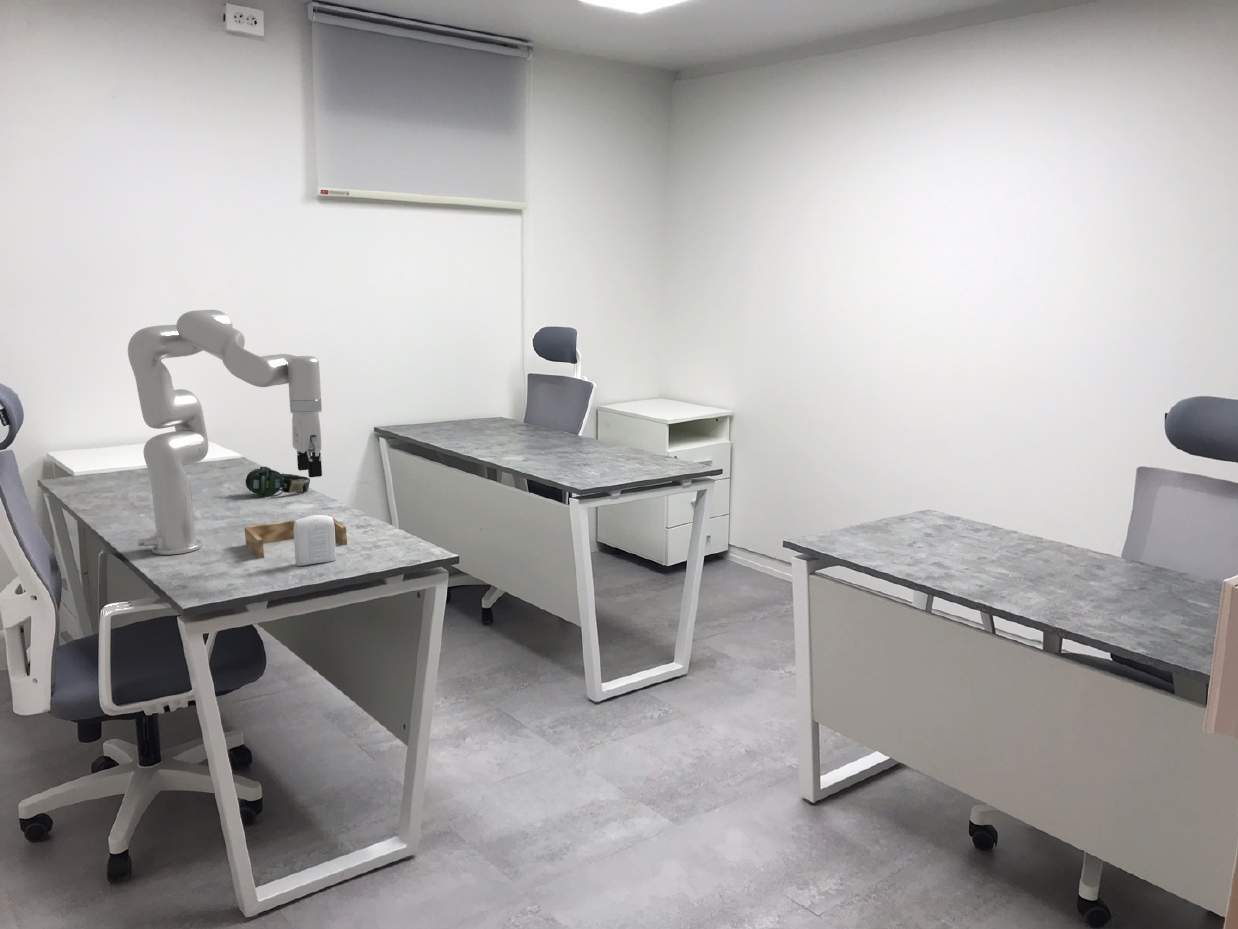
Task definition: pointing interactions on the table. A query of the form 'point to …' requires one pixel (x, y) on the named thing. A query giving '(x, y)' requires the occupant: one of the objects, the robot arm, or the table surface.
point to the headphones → (275, 482)
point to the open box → (281, 534)
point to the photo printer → (314, 540)
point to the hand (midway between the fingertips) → (309, 473)
